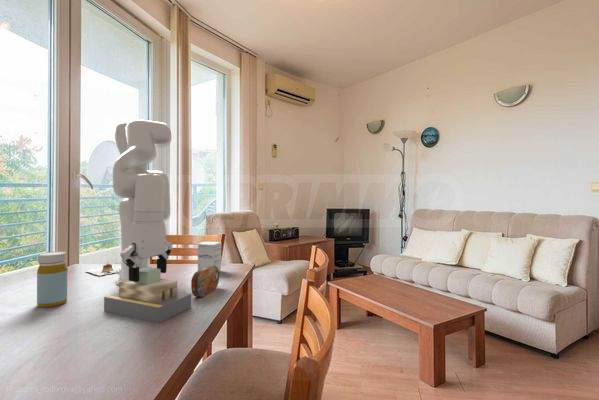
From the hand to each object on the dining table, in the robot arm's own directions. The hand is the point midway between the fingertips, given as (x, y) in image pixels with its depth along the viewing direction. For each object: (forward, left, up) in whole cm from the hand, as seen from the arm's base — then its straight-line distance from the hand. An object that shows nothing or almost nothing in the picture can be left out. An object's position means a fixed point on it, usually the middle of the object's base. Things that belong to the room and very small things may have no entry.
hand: (148, 276), depth 89 cm
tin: (+6, +19, -10) cm, 22 cm away
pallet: (0, 0, -5) cm, 5 cm away
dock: (+1, 0, -9) cm, 9 cm away
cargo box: (0, -1, -1) cm, 1 cm away
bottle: (-28, -8, -10) cm, 31 cm away
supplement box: (-10, +42, -10) cm, 44 cm away
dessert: (-49, +25, -10) cm, 56 cm away
